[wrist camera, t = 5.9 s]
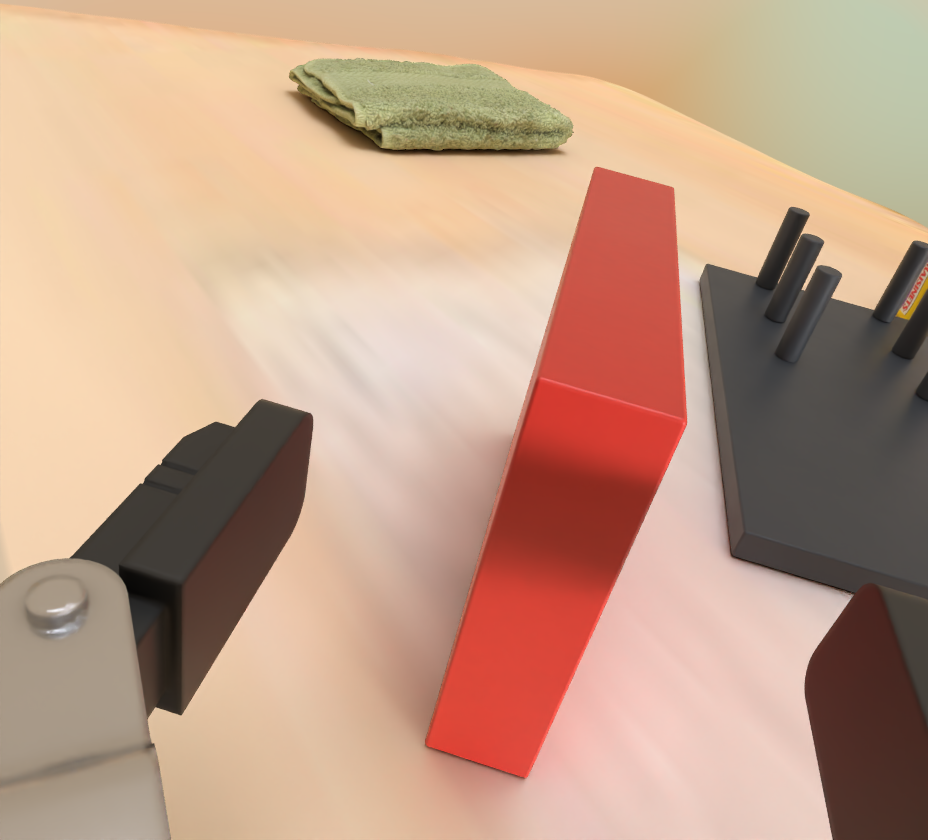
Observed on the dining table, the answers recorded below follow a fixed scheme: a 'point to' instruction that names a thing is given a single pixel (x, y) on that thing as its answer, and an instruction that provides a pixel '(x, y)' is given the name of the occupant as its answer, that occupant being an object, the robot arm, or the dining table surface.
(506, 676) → the red rectangular block
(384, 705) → the dining table surface
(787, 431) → the dish rack
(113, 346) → the dining table surface
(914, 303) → the candy box
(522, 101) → the washcloth
